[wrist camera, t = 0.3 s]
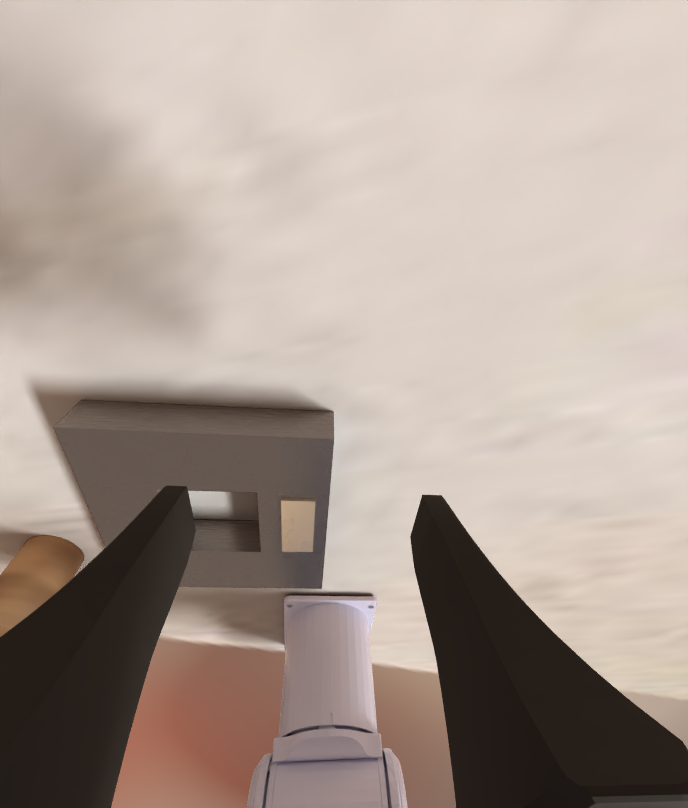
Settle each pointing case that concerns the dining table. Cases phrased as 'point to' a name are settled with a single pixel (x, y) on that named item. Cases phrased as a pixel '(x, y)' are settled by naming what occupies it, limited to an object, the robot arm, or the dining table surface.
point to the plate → (212, 481)
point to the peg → (36, 577)
